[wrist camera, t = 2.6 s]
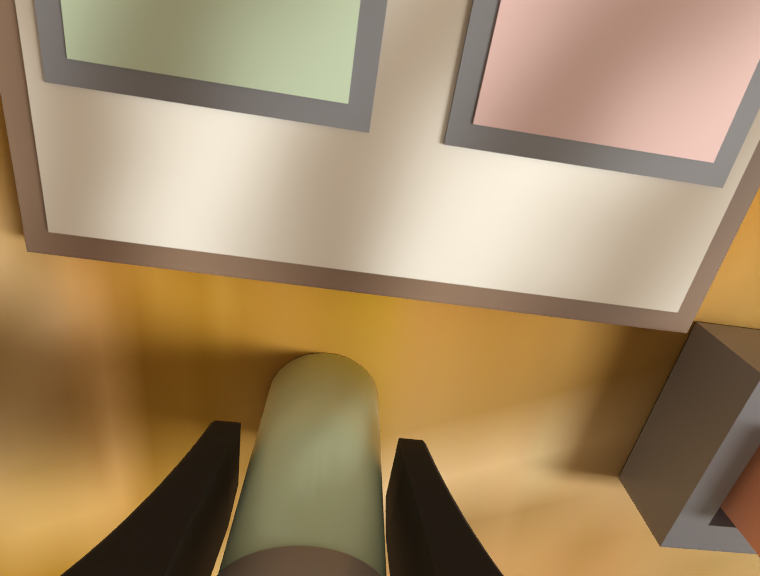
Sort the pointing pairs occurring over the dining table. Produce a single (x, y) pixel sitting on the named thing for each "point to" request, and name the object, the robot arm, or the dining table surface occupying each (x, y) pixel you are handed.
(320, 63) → the colouring board
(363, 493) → the sage marker
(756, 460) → the button
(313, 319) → the dining table surface
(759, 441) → the button housing
